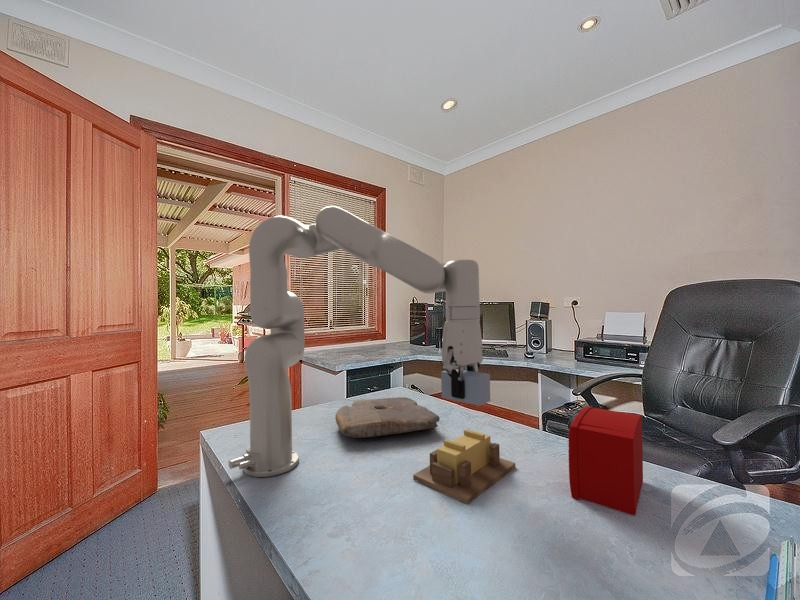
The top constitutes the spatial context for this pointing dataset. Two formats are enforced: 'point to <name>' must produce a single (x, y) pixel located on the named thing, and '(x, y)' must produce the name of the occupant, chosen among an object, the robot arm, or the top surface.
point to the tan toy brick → (465, 452)
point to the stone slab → (384, 417)
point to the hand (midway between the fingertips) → (464, 394)
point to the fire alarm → (606, 458)
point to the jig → (465, 476)
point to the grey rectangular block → (469, 387)
